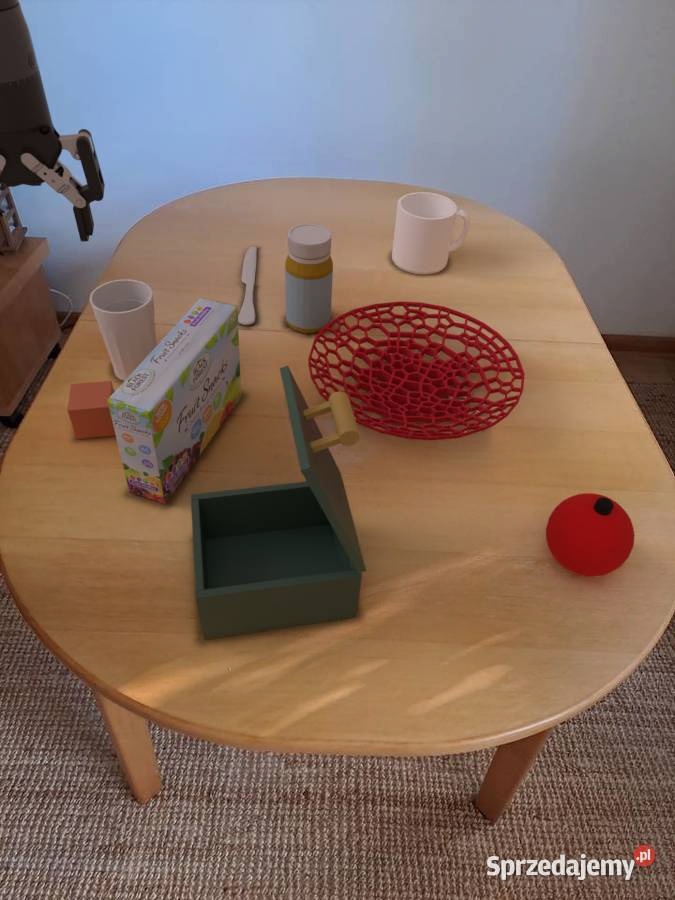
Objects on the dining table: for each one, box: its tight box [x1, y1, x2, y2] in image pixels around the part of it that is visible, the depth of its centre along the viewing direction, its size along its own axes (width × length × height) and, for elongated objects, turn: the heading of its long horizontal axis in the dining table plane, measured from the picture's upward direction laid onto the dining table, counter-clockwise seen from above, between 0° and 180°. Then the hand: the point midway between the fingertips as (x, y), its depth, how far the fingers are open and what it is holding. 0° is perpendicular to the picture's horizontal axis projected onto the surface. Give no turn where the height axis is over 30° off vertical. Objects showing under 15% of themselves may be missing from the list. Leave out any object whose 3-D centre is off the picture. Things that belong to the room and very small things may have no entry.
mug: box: [391, 191, 471, 276], centre depth 116 cm, size 13×10×10 cm
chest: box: [190, 480, 363, 641], centre depth 70 cm, size 16×13×8 cm
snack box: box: [108, 297, 243, 505], centre depth 81 cm, size 21×6×15 cm, turn 161°
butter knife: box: [238, 245, 257, 326], centre depth 112 cm, size 1×24×3 cm
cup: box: [89, 278, 158, 382], centre depth 91 cm, size 8×8×12 cm
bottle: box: [284, 223, 334, 335], centre depth 100 cm, size 7×7×15 cm
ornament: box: [545, 492, 635, 578], centre depth 72 cm, size 9×9×10 cm
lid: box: [279, 365, 367, 574], centre depth 62 cm, size 16×13×5 cm
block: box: [66, 380, 116, 440], centre depth 86 cm, size 5×5×5 cm
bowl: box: [307, 300, 525, 442], centre depth 93 cm, size 29×30×5 cm
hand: (42, 240), depth 69 cm, fingers open, 8 cm apart
